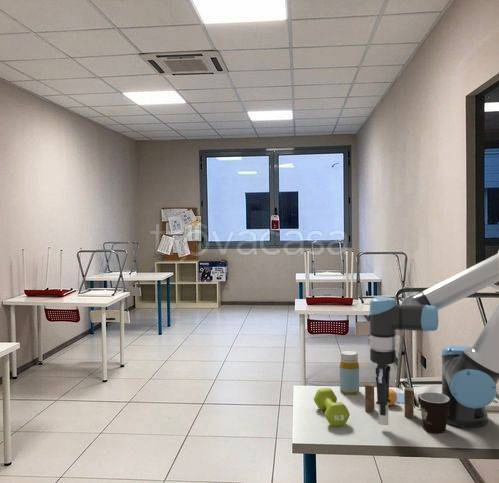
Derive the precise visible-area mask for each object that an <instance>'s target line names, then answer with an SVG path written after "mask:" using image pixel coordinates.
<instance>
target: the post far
mask: <svg viewBox="0 0 499 483" xmlns="http://www.w3.org/2000/svg"><path fill="white" fill-rule="evenodd" d="M364 403H365V404H364V405H365V407H364V408H365V409H364V410H365V412H367V413H375V412H374V411H375V383H374V382H373V383H372V382H365V384H364Z"/></svg>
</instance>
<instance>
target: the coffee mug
mask: <svg viewBox="0 0 499 483" xmlns="http://www.w3.org/2000/svg"><path fill="white" fill-rule="evenodd" d="M441 393H442V392H441ZM441 393H440V392H436V391H435V392H433V391H427V392H422V393H419V394H418V396H417V398H418V399H417V401H418V402H419V403H418V404H419V406H420V412H421V421H422V428H423V430H424V431H425V432H427V433H429V434H434V435H442V434H445V433H446V431H447V424H448V423H447V415H448V407H449V397H448V396H446V395H444V394H441Z"/></svg>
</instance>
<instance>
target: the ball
mask: <svg viewBox="0 0 499 483" xmlns="http://www.w3.org/2000/svg"><path fill="white" fill-rule="evenodd" d="M388 399H390V400H391V402H387V403H388V406H392V405H393V406H394V405H395V404H396V403H395V402H396V401H397V394H396V393H395V390H394V389H392V388H389V398H388Z"/></svg>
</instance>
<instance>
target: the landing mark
mask: <svg viewBox="0 0 499 483" xmlns="http://www.w3.org/2000/svg"><path fill="white" fill-rule="evenodd" d="M395 393H396V394H397V401H396V402H395V403H394V404H396V403H397V404H404V392H395Z"/></svg>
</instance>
